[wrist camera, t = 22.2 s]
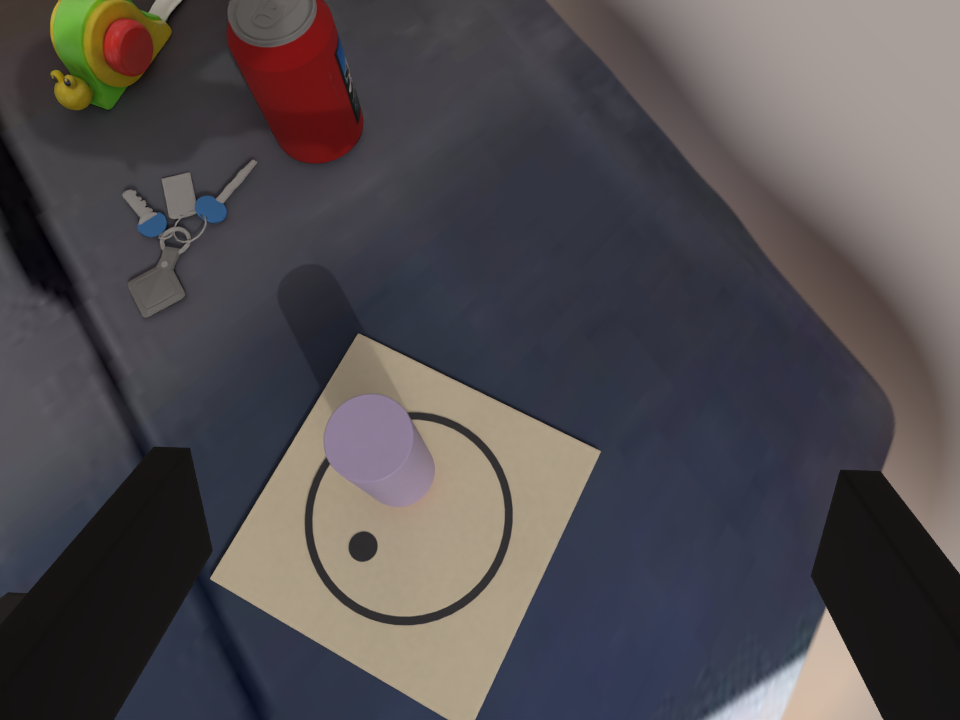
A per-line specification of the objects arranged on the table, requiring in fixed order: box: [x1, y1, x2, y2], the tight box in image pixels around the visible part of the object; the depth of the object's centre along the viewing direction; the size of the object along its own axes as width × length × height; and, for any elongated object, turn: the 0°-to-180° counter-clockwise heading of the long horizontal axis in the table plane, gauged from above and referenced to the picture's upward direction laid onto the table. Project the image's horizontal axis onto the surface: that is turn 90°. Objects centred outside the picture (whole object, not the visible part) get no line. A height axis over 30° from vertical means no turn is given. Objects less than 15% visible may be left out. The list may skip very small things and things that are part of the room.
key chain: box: [122, 160, 257, 318], centre depth 51 cm, size 14×8×1 cm, turn 159°
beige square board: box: [210, 333, 601, 720], centre depth 43 cm, size 18×18×1 cm
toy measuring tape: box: [50, 0, 182, 110], centre depth 54 cm, size 6×20×7 cm, turn 156°
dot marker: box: [324, 394, 435, 507], centre depth 39 cm, size 4×4×11 cm
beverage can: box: [227, 0, 363, 163], centre depth 48 cm, size 7×7×12 cm
